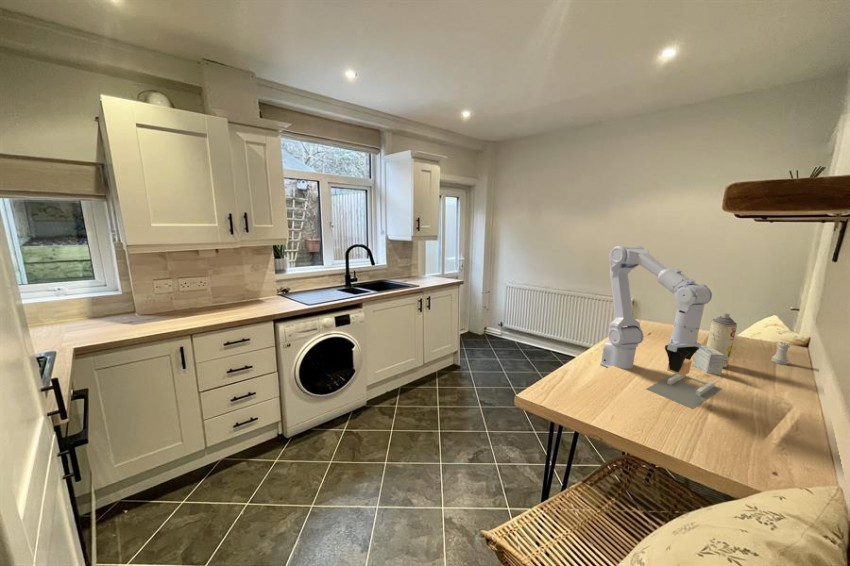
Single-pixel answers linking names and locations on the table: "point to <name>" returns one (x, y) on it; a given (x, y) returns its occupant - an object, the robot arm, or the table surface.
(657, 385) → the channel
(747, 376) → the table surface
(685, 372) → the block
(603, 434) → the table surface
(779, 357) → the rook chess piece
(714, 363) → the medicine box
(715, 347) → the aerosol can
